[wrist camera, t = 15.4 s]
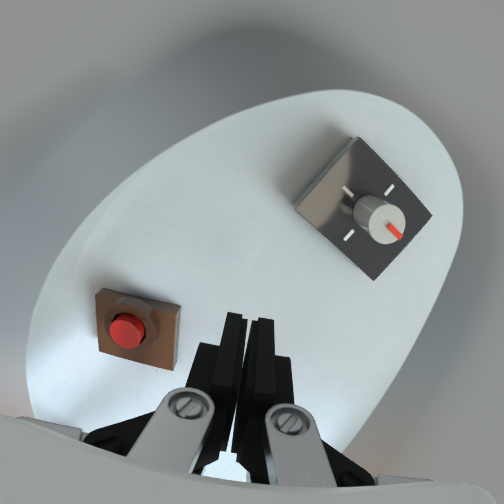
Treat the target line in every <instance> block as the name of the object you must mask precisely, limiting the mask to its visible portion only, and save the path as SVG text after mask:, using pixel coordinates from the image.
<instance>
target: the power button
mask: <svg viewBox="0 0 504 504" xmlns="http://www.w3.org/2000/svg"><path fill="white" fill-rule="evenodd" d="M144 333H145V330H144V326H143V324H142V322H141V321H140V320H139V319H138V318H137V317H136V316H134V315H132V314H128V313H124V314H120V315H119V316H118V317H117V318H116V319H115V320H114V322H113V323H112V324H111V326H110V335H111V337H112V339H113V340H114V341H115V342H116V343H117V344H118V345H119V346H121V347H123V348H127V349H132V348H135V347H137V346H138V345H139V343H140V341H141V340H142V338H143V336H144Z"/></svg>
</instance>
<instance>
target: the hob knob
mask: <svg viewBox="0 0 504 504" xmlns="http://www.w3.org/2000/svg"><path fill="white" fill-rule="evenodd" d="M353 217H354V220H355V222H356V224H357V225H358V226H359V227H361V228H362V229H363V230H364V231H365V232H366V233H367V234H368V235H370V236H371V237H372V238H373V239H374V240H375V241H377V242H378V243H381V244H390V243H393V242H395V241H396V240H400V239H401V238H402V237H403V235H402V234H403V232H404V229H405V217H404V214H403V212H402V211H401V210H400V209H399V208H398V207H397V206H395V205H393V204H391V203H389V202H387V201H384V200H382V199H380V198H378V197H376V196H373V195H367V196H364V197H362V198H360V199H359V200H358V201H357V202H356V204H355V206H354V209H353Z"/></svg>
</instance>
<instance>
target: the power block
mask: <svg viewBox="0 0 504 504" xmlns="http://www.w3.org/2000/svg"><path fill="white" fill-rule="evenodd" d="M95 300H96V318H97V332H98V344H99V351H100V352H103V353H107V354H110V355H114V356H117V357H121V358H124V359H128V360H131V361H135V362H139V363H143V364H146V365H150V366H154V367H158V368H163V369H167V370H171V371H173V370H174V367H175V365H176V362H177V349H178V334H179V321H180V309H181V306H177V305H173V304H168V303H163V302H159V301H154V300H150V299H145V298H141V297H136V296H132V295H128V294H124V293H119V292H115V291H111V290H107V289H101V290H100V291H99V292H98V293H97V294H96V295H95ZM124 313H128V314H132V315H134V316H136V317H137V318H138V319H139V320H140V321H141V322H142V324H143V326H144V330H145V333H144V336H143V338H142V340H141V341H140V343H139V345H138V346H137V347H135V348H132V349H127V348H123V347H121V346H119V345H118V344H117V343H116V342H115V341H114V340H113V339H112V337H111V335H110V326H111V324H112V323H113V322H114V320H115V319H116V318H117V317H118V316H119V315H120V314H124Z"/></svg>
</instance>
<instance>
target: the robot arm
mask: <svg viewBox="0 0 504 504" xmlns="http://www.w3.org/2000/svg"><path fill="white" fill-rule="evenodd" d="M247 321H248V319H243V318H242V314H237V313H231V312H228V313H227V317H226V321H225V326H224V330H223V334H222V338H221V343H220V346H217V345H212V344H207V343H202V342H200V344H199V346H198V349H197V352H196V355H195V358H194V361H193V364H192V367H191V370H190V373H189V377H188V380H187V383H186V386H185V388H178V389H174V390H172V391H170V392H169V393H168V394H167V395H166V396H165V397H164V398H163V400H162V402H161V403H160V405H159V406H158V408H157V409H156V411H153V412H151V413H148V414H145V415H142V416H139V417H136V418H132V419H129V420H126V421H123V422H120V423H116V424H113V425H110V426H106V427H103V428H99V429H96V430H94V431H92V432H90V433H83V432H82V429H79V428H74V427H69V426H64V425H59V424H55V423H50V422H46V421H41V420H37V419H33V418H29V417H17V418H13V417H9V416H4V415H0V504H497V503H496V501H495V500H494V498H493V497H492V496H491V495H490V494H489V493H488V492H487V491H486V490H485V489H483V488H481V487H479V486H476V485H473V484H468V483H462V482H455V481H433V480H429V479H419V478H407V477H397V476H388V475H380V474H378V475H377V476H376V477H372V476H371V474H370V473H368V472H367V471H366V470H365V469H363V468H362V467H360V466H359V465H357V464H356V463H354V462H353V461H351V460H350V459H348V458H347V457H345V456H344V455H343V454H341V453H340V452H338V451H337V450H335V449H334V448H333V447H331V446H330V445H328V444H327V443H326V442H324V441H323V440H321V437H320V434H319V431H318V428H317V426H316V423H315V420H314V418H313V416H312V415H311V414H310V413H309V412H308V411H307V410H306V409H304V408H302V407H300V406H297V405H294V393H293V382H292V371H291V360H290V358H289V357H284V356H277V355H275V342H274V320H272V319H266V318H260V317H259V318H258V321H254V320H252V324H251V328H250V333H249V338H248V343H247V348H246V353H245V357H244V362H243V356H244V347H245V339H246V330H247ZM242 365H243V367H242ZM236 404H237V406H236ZM235 408H236V415H235V423H234V431H233V439H232V447H231V453H237V459H236V462H238V463H240V464H241V465H242V466H243V467H244V468H245V469H246V470H247V474H246V479H247V482H239V481H232V480H225V479H219V478H213V477H207V476H203V474H204V472H205V467H206V465H208V464H210V463H212V462H214V461H216V460H218V458H219V453H220V451H225V452H226V449H227V444H228V440H229V435H230V431H231V427H232V422H233V418H234V413H235Z"/></svg>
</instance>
